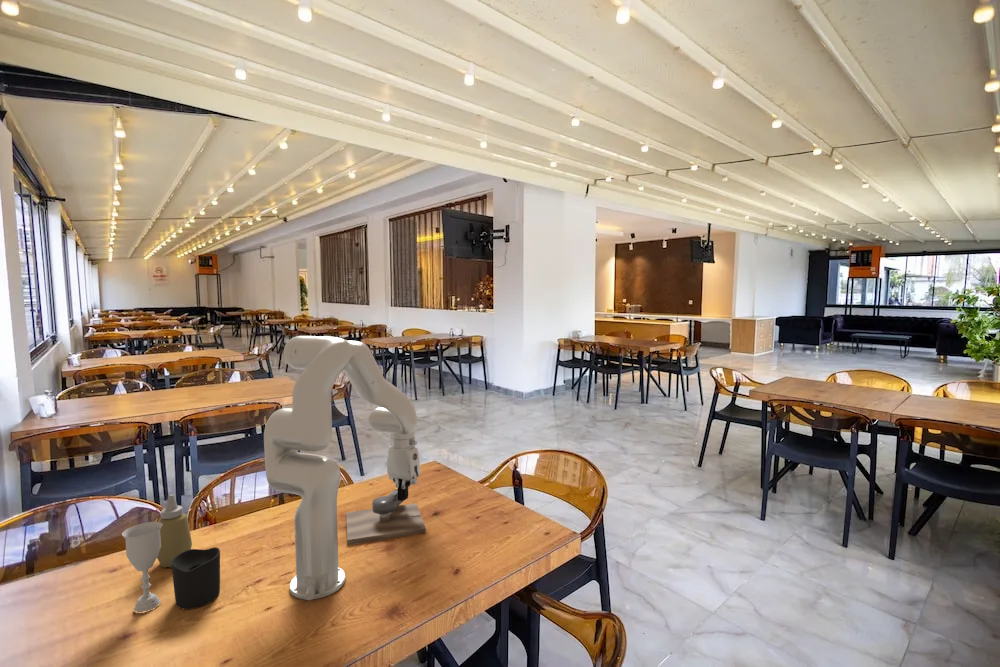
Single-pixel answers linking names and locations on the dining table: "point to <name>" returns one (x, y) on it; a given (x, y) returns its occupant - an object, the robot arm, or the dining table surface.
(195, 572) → the pen holder
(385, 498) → the grey knob lever
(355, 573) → the dining table surface
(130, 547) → the chalice
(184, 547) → the squeeze bottle
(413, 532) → the board
